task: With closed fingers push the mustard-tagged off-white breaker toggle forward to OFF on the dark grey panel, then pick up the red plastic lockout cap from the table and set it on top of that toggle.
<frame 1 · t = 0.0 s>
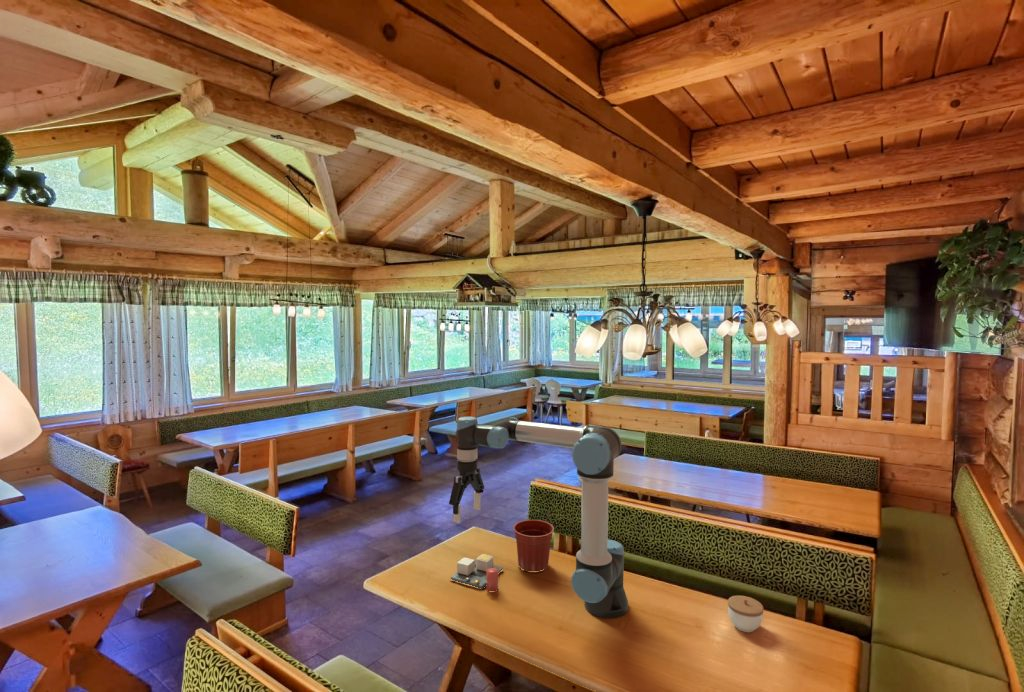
hand: (467, 515, 192), 28 cm above the table, fingers open, 13 cm apart
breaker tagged: (484, 562, 206), point 4 cm above the table, slide at 0.0 cm
lockout cap: (492, 588, 194), on the table
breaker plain: (466, 566, 203), point 4 cm above the table, slide at 5.0 cm
panel: (477, 575, 203), on the table
flower pot: (533, 566, 211), on the table
lidded jar: (744, 627, 171), on the table
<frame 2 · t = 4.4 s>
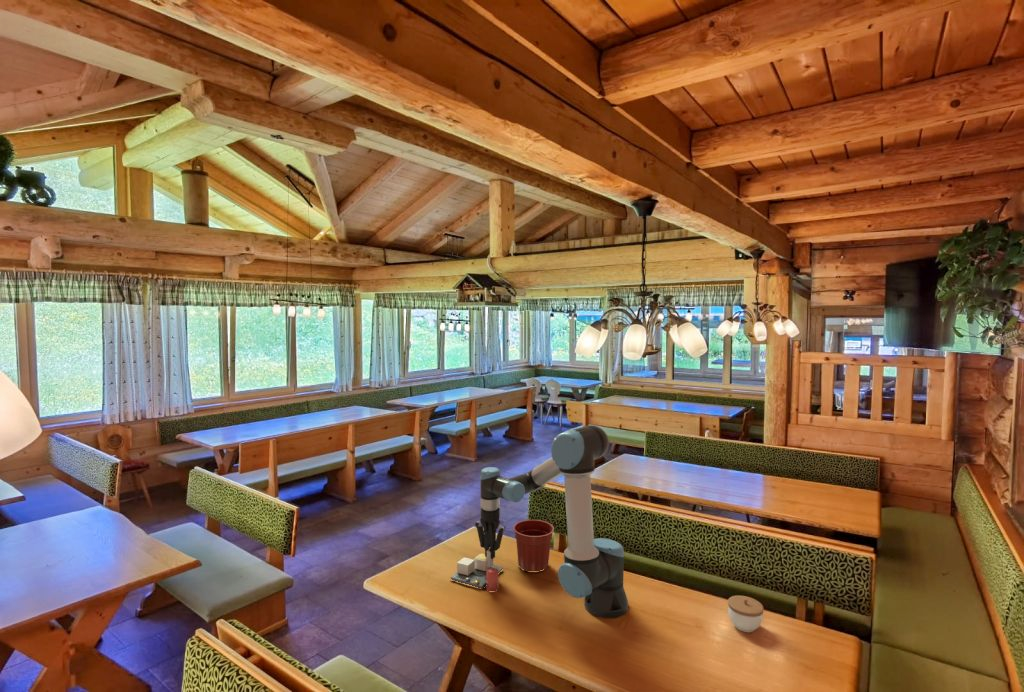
hand: (490, 565, 205), 3 cm above the table, fingers closed
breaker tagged: (482, 561, 206), point 4 cm above the table, slide at 0.9 cm, touching gripper
everything else where it was.
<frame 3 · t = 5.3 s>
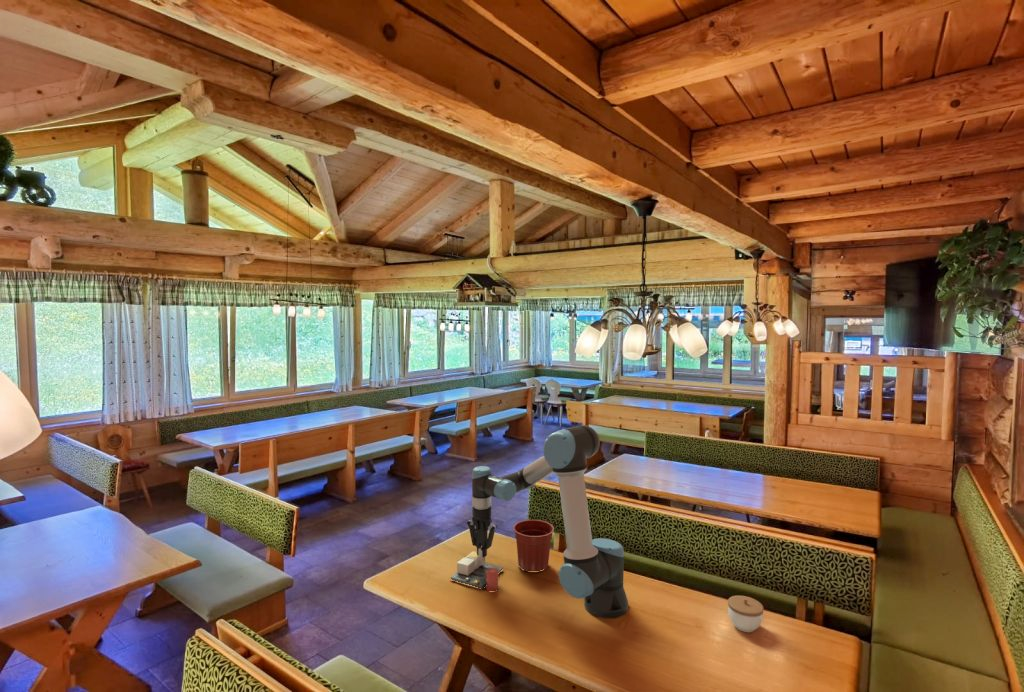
hand: (481, 563, 207), 3 cm above the table, fingers closed
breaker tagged: (474, 559, 208), point 4 cm above the table, slide at 4.6 cm, touching gripper
everything else where it was.
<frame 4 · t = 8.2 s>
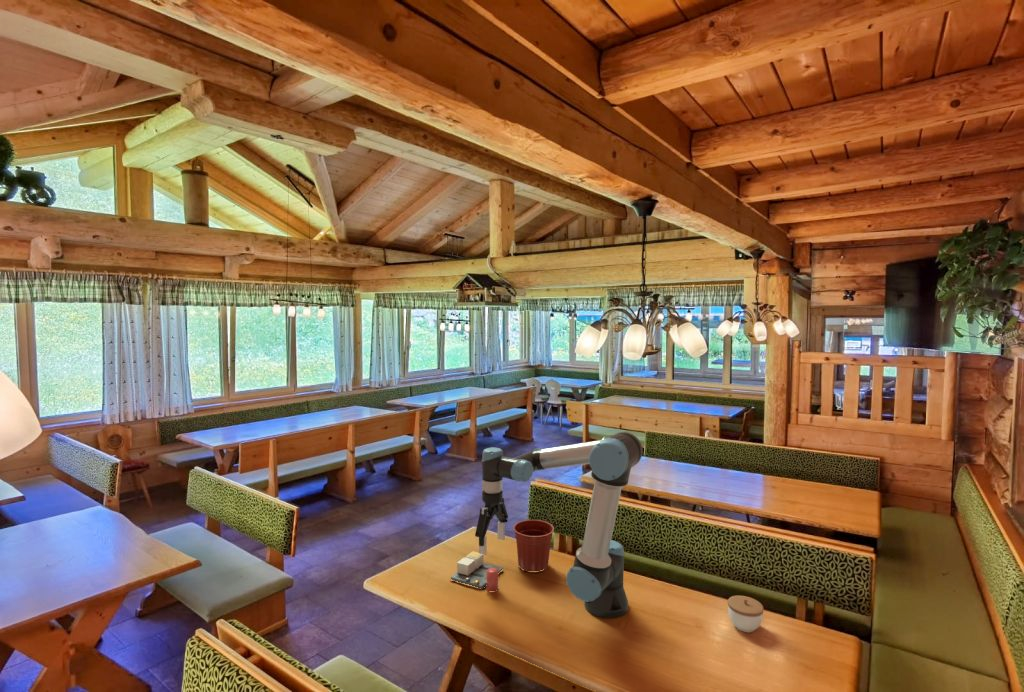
hand: (492, 546, 193), 16 cm above the table, fingers open, 13 cm apart
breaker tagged: (474, 559, 208), point 4 cm above the table, slide at 4.7 cm
everything else where it was.
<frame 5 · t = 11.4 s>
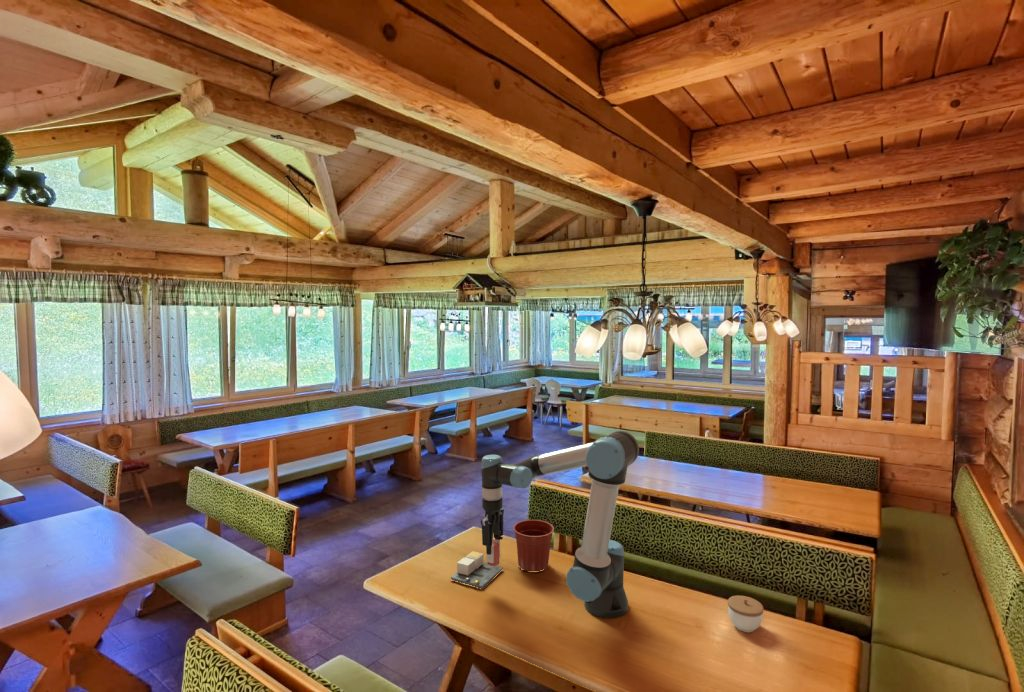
hand: (493, 559, 193), 12 cm above the table, fingers closed on lockout cap, 4 cm apart
lockout cap: (493, 563, 193), point 10 cm above the table, touching gripper
everything else where it was.
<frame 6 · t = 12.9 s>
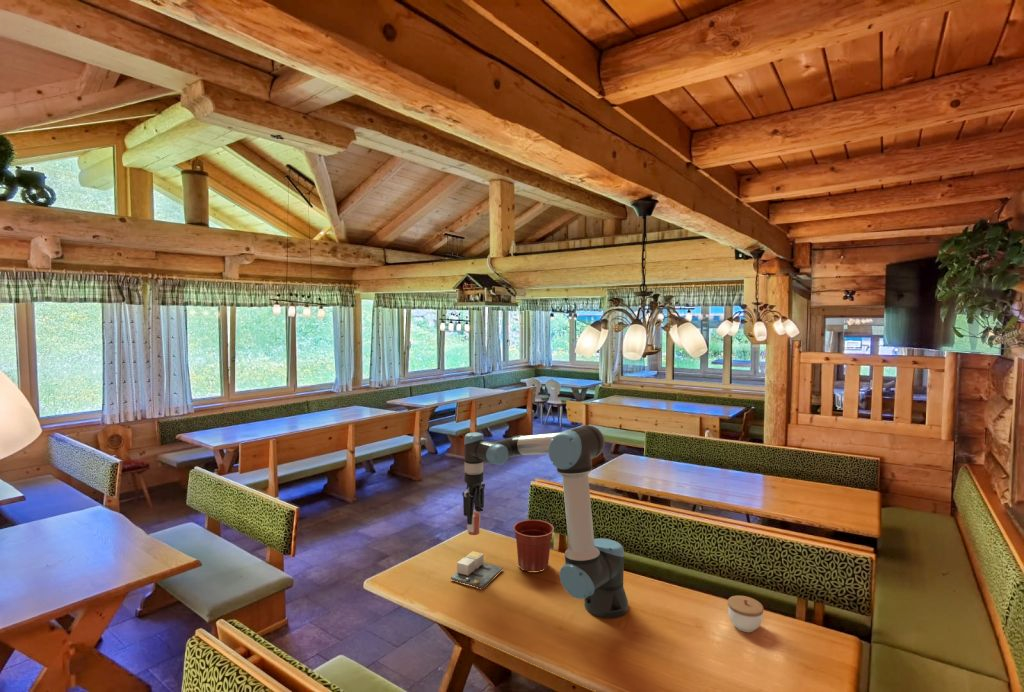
hand: (473, 529, 207), 16 cm above the table, fingers closed on lockout cap, 4 cm apart
lockout cap: (473, 532, 208), point 15 cm above the table, touching gripper
everything else where it was.
when the fingers open (7 cm above the table, at t = 14.9 s): lockout cap stays where it is, resting on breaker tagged.
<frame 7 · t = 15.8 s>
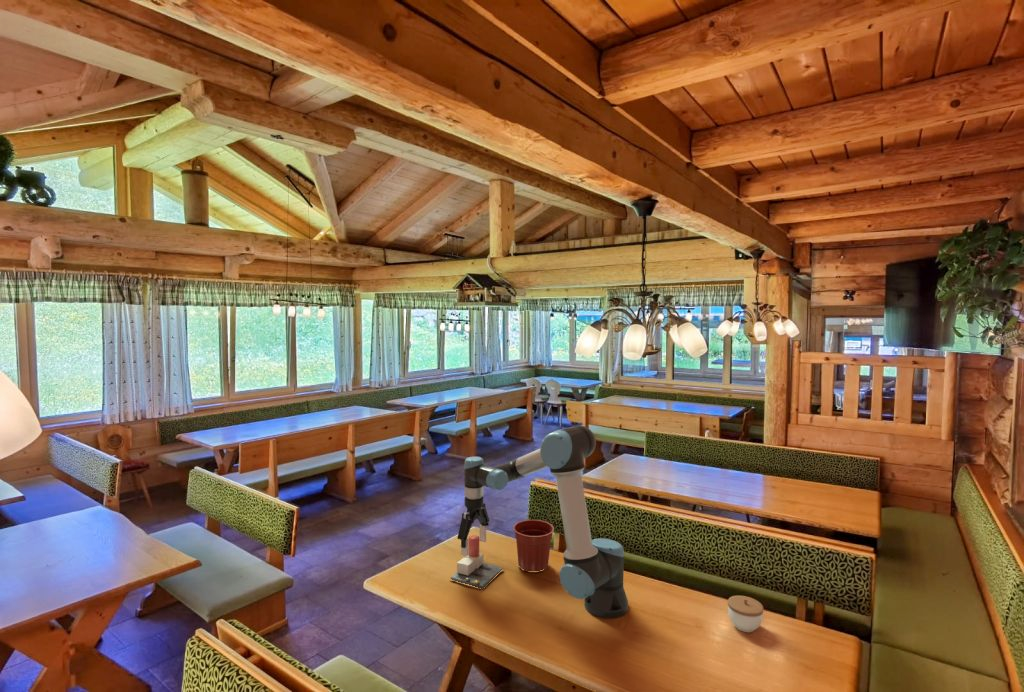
hand: (474, 547, 208), 9 cm above the table, fingers open, 13 cm apart
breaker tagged: (474, 559, 208), point 4 cm above the table, slide at 4.7 cm, touching lockout cap
lockout cap: (473, 554, 208), point 6 cm above the table, touching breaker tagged
everything else where it was.
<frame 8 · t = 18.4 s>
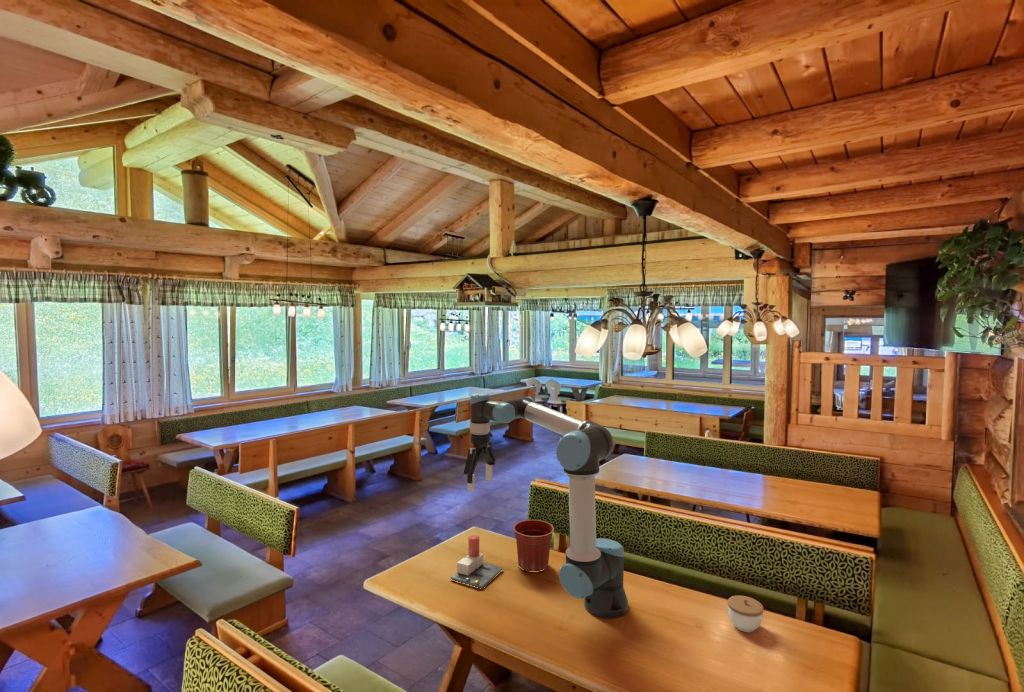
hand: (480, 485, 205), 35 cm above the table, fingers open, 13 cm apart
nothing on the table moved.
at the end: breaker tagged slide at 4.7 cm; lockout cap 0.4 cm off-centre on the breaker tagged, point 6.0 cm above the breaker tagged's base; lockout cap tilted 0° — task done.
